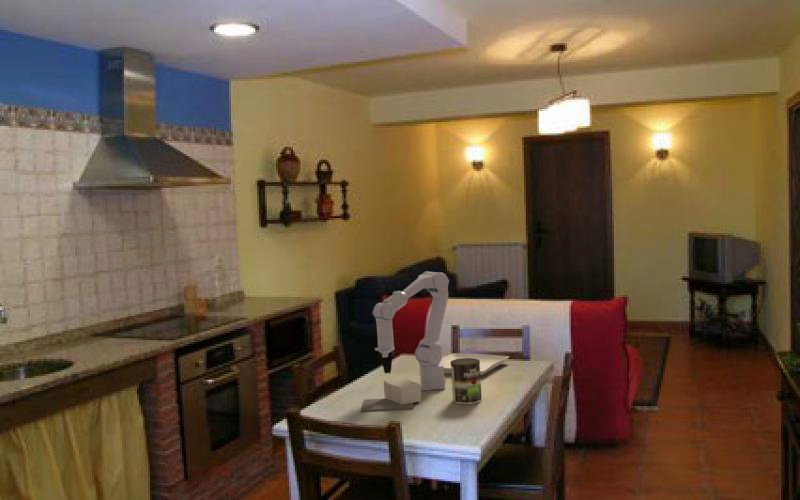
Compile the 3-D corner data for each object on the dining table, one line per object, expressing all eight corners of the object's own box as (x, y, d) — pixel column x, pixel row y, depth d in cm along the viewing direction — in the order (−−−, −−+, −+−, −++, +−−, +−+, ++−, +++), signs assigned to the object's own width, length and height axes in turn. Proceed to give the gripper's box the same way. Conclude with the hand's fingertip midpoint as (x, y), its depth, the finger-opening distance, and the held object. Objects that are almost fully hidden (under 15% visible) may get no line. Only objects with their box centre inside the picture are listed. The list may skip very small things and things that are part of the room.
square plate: (510, 364, 306) (510, 355, 306) (483, 380, 282) (483, 370, 282) (453, 360, 320) (452, 351, 320) (423, 375, 296) (422, 366, 296)
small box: (384, 398, 263) (401, 405, 251) (383, 380, 262) (400, 387, 251) (403, 394, 267) (421, 401, 255) (402, 377, 266) (420, 383, 255)
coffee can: (487, 401, 252) (485, 361, 252) (462, 406, 248) (460, 366, 247) (471, 394, 262) (469, 356, 261) (447, 400, 257) (444, 361, 256)
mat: (413, 398, 262) (413, 396, 262) (413, 409, 249) (412, 407, 249) (364, 401, 262) (364, 399, 262) (360, 411, 249) (360, 410, 249)
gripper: (375, 332, 270) (378, 368, 271) (372, 340, 256) (375, 378, 257) (394, 331, 270) (397, 367, 271) (392, 339, 255) (395, 377, 256)
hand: (387, 372), depth 264 cm, fingers closed
